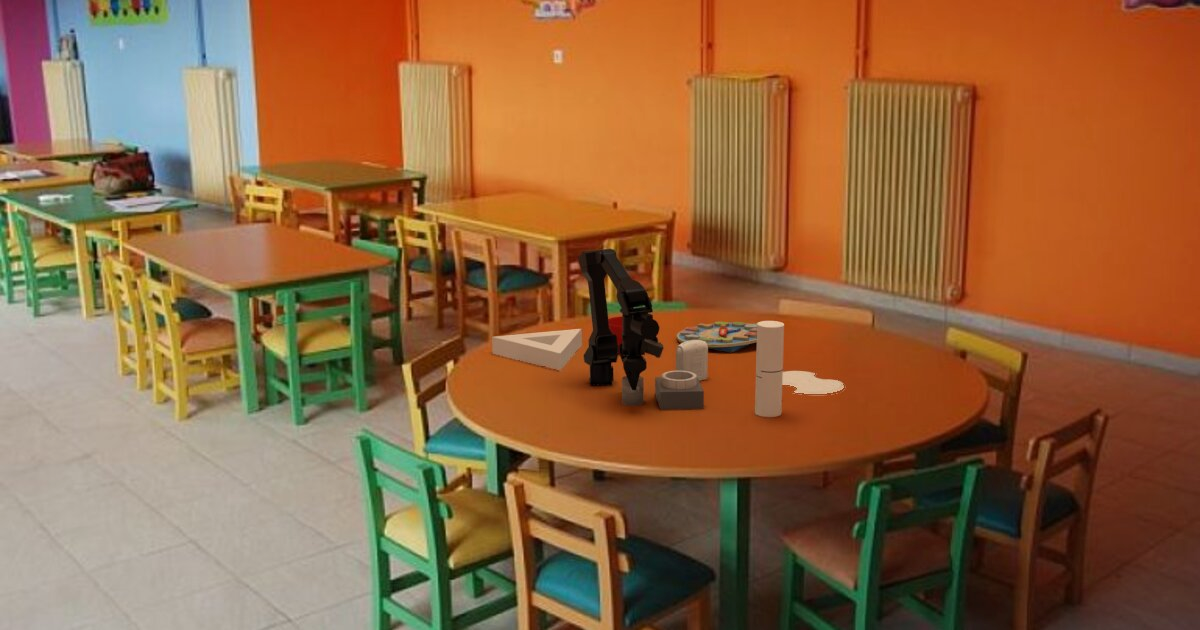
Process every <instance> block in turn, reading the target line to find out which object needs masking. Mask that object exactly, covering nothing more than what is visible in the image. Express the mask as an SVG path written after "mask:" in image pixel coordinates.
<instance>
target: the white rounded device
mask: <svg viewBox="0 0 1200 630" xmlns="http://www.w3.org/2000/svg"><path fill="white" fill-rule="evenodd" d="M708 357H709V349H708V346H707V343H706V342H705V341H702V340H690V341H686V342H684V343H682V344H681V343H680V344H678V345H677V347H676V348H675V371H689V372H692V373H695V374H696V376H697V377H698V379H699V382H700V381H705V380H706V379H708V363H709V361H708V360H709V358H708Z"/></svg>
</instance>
